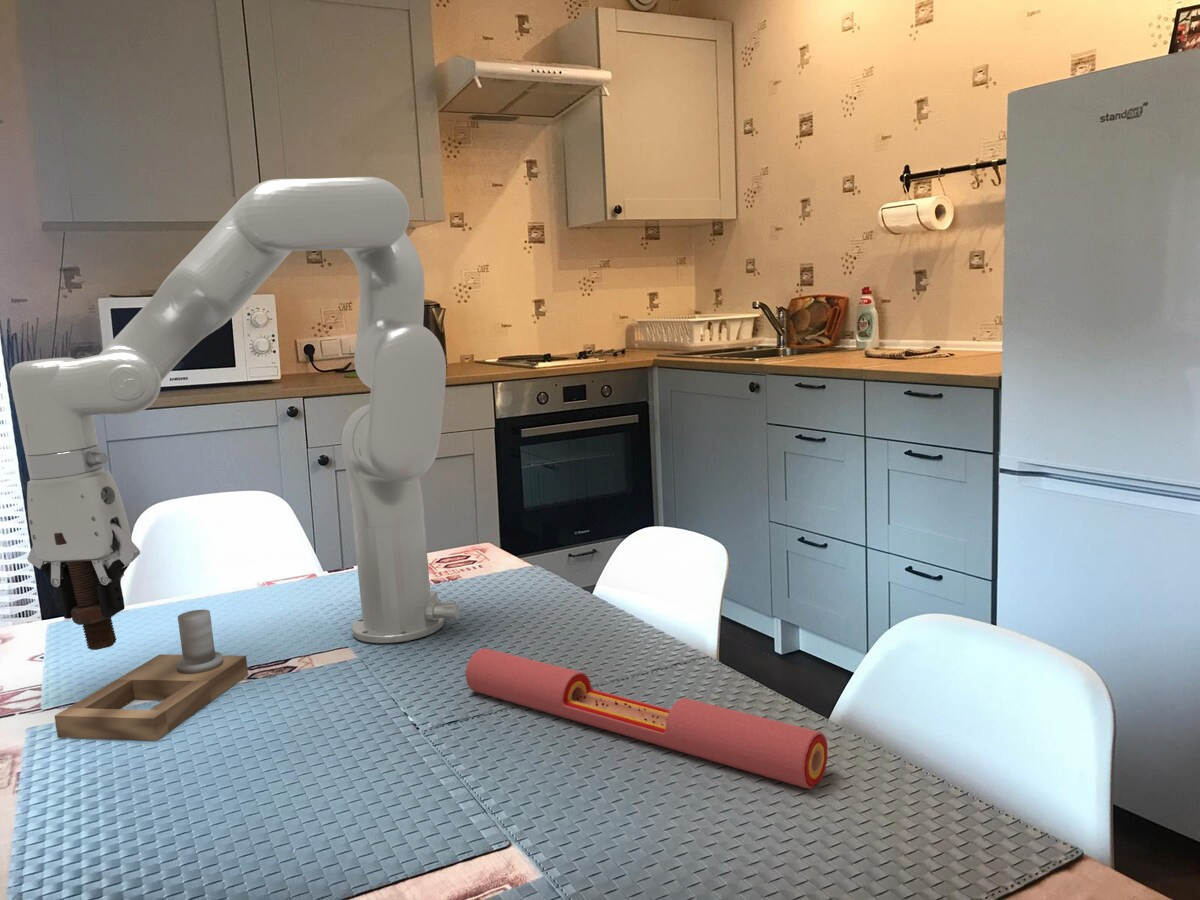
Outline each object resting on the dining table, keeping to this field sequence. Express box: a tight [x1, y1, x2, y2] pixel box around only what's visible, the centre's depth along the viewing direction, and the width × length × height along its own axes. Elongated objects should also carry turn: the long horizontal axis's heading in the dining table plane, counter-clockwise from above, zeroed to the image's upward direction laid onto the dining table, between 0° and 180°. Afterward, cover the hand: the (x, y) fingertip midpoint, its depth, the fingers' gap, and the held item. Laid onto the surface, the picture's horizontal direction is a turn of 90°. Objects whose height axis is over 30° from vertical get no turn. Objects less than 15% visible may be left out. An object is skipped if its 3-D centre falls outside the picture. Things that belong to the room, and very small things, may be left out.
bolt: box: [54, 533, 117, 651], centre depth 112 cm, size 6×5×15 cm
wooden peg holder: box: [54, 609, 249, 742], centre depth 109 cm, size 12×18×9 cm, turn 170°
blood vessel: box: [465, 648, 829, 790], centre depth 96 cm, size 42×5×5 cm, turn 52°
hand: (94, 612), depth 113 cm, fingers closed on bolt, 4 cm apart
